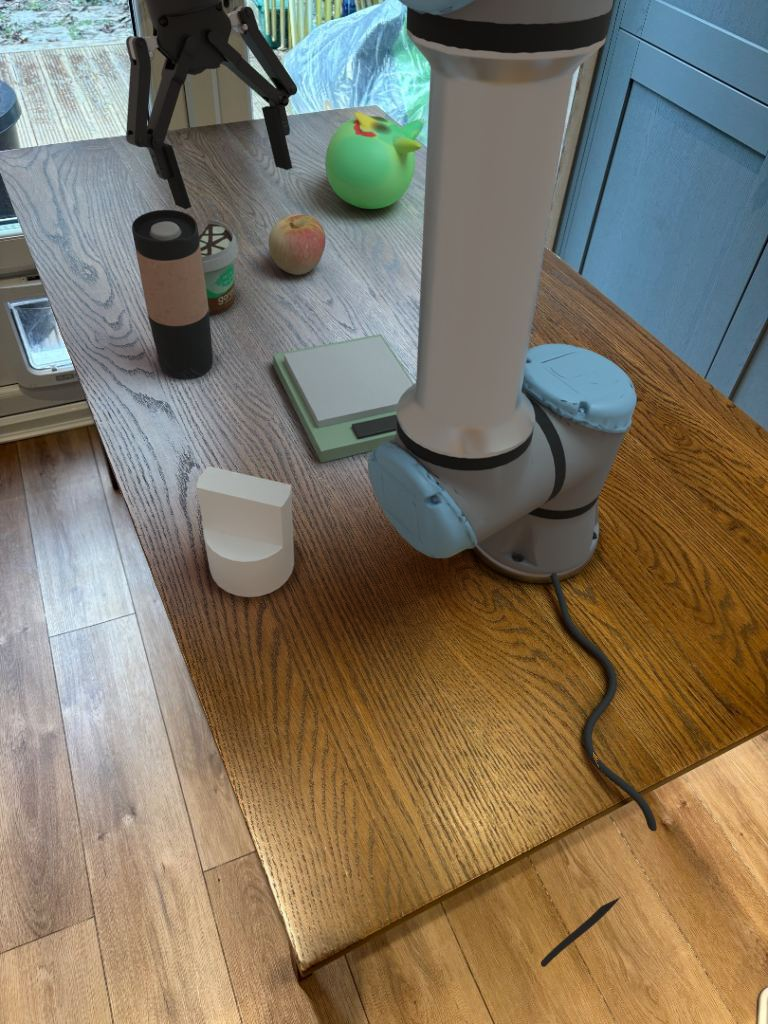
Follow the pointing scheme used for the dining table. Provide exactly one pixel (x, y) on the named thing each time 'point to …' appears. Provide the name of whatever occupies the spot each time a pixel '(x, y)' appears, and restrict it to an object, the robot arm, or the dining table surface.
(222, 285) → the food container
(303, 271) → the apple
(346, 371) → the scale
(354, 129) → the toy bird
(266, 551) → the base with upright slab
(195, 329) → the travel mug
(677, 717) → the dining table surface
